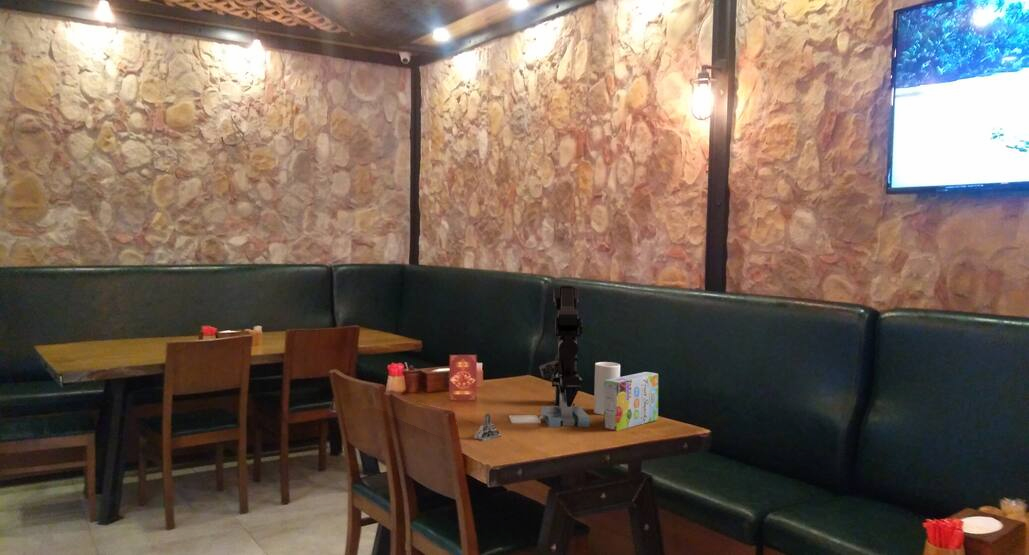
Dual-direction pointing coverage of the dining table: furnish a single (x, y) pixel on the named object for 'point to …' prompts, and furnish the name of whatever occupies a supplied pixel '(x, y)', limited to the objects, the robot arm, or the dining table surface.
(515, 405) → the dining table surface
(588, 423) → the frame
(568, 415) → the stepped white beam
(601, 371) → the cup
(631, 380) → the snack box
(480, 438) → the house of cards
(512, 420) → the tile
